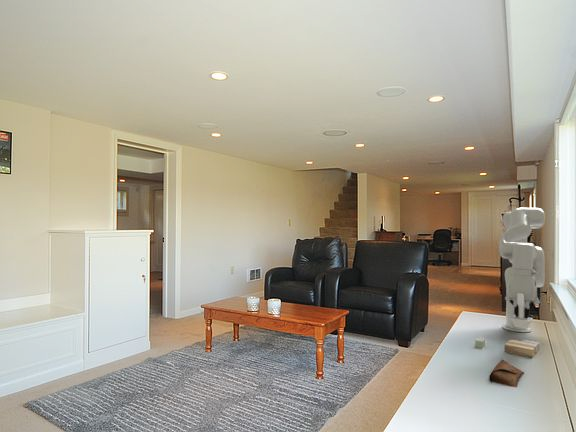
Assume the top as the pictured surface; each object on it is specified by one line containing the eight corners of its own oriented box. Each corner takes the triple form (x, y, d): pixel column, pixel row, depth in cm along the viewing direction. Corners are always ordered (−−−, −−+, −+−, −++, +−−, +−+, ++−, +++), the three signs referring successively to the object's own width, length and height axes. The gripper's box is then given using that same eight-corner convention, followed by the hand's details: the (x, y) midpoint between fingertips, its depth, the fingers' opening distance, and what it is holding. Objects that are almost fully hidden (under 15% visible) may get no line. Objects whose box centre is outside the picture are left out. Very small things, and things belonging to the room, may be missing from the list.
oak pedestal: (510, 346, 174) (511, 339, 174) (537, 351, 168) (537, 344, 168) (504, 351, 166) (504, 344, 166) (532, 357, 160) (532, 350, 160)
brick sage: (477, 344, 177) (477, 337, 177) (484, 345, 176) (484, 338, 176) (475, 347, 172) (475, 340, 172) (482, 348, 171) (482, 341, 171)
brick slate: (521, 347, 173) (522, 340, 173) (524, 346, 175) (524, 339, 175) (537, 351, 169) (537, 344, 169) (539, 350, 171) (540, 342, 171)
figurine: (533, 326, 169) (533, 290, 169) (530, 330, 161) (530, 293, 161) (513, 323, 173) (514, 288, 173) (509, 327, 166) (510, 290, 166)
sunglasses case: (518, 388, 128) (506, 367, 130) (496, 394, 132) (485, 374, 134) (525, 372, 143) (514, 354, 145) (506, 378, 146) (495, 360, 148)
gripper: (546, 274, 165) (546, 319, 165) (503, 270, 176) (502, 312, 175) (543, 275, 160) (542, 322, 159) (498, 271, 170) (498, 315, 170)
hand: (521, 316), depth 167 cm, fingers closed on figurine, 2 cm apart
